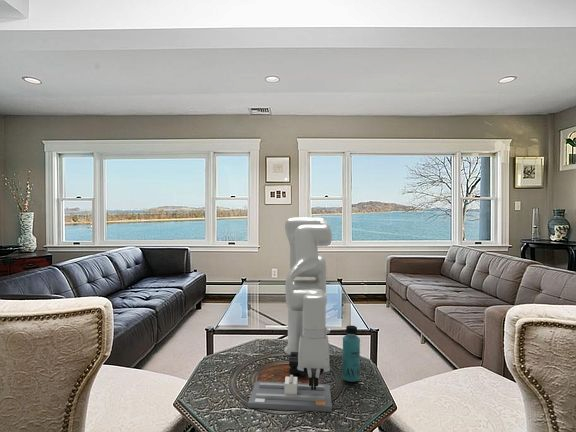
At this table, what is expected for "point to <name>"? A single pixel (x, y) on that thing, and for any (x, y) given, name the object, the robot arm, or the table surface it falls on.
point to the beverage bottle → (351, 355)
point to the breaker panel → (290, 397)
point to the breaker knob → (290, 385)
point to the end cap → (295, 366)
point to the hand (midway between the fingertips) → (313, 388)
